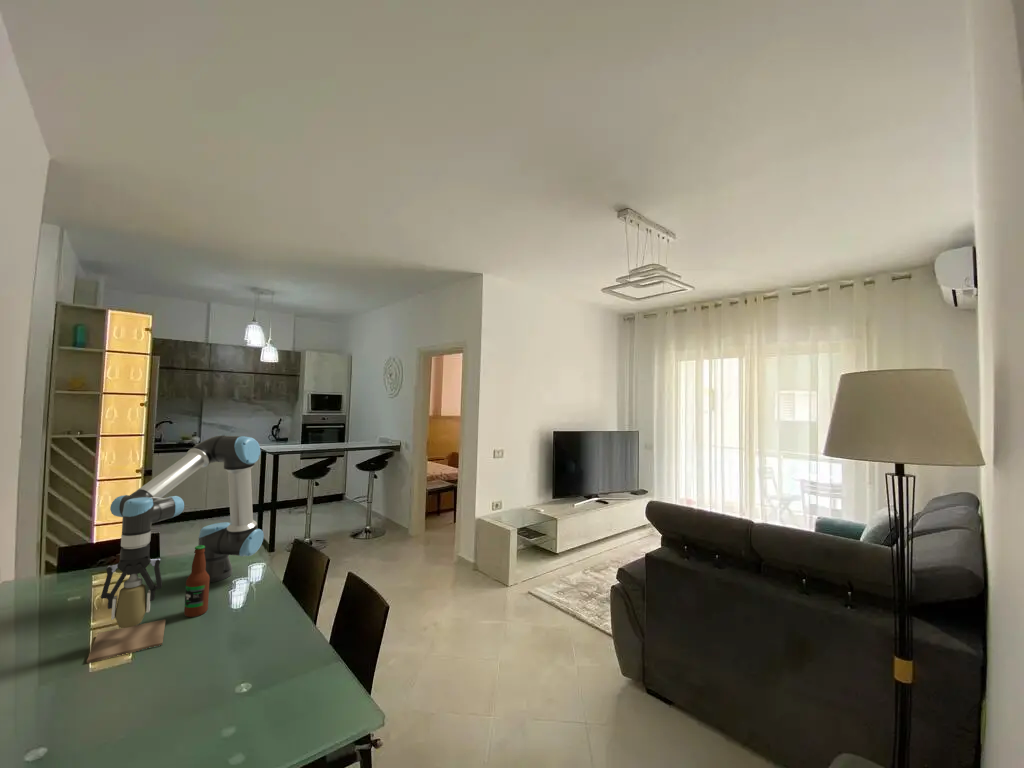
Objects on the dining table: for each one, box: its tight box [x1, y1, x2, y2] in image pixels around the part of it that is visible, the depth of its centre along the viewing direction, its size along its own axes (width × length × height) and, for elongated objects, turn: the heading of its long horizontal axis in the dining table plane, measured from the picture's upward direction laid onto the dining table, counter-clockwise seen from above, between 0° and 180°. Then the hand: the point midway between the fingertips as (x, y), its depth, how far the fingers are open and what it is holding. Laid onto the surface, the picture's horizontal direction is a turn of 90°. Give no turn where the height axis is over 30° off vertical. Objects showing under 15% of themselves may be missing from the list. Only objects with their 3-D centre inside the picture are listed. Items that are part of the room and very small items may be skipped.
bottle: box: [183, 544, 210, 618], centre depth 165 cm, size 7×7×25 cm
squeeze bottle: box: [115, 574, 147, 629], centre depth 146 cm, size 8×8×18 cm
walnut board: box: [86, 619, 166, 664], centre depth 146 cm, size 18×18×1 cm
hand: (131, 614), depth 146 cm, fingers closed on squeeze bottle, 8 cm apart
